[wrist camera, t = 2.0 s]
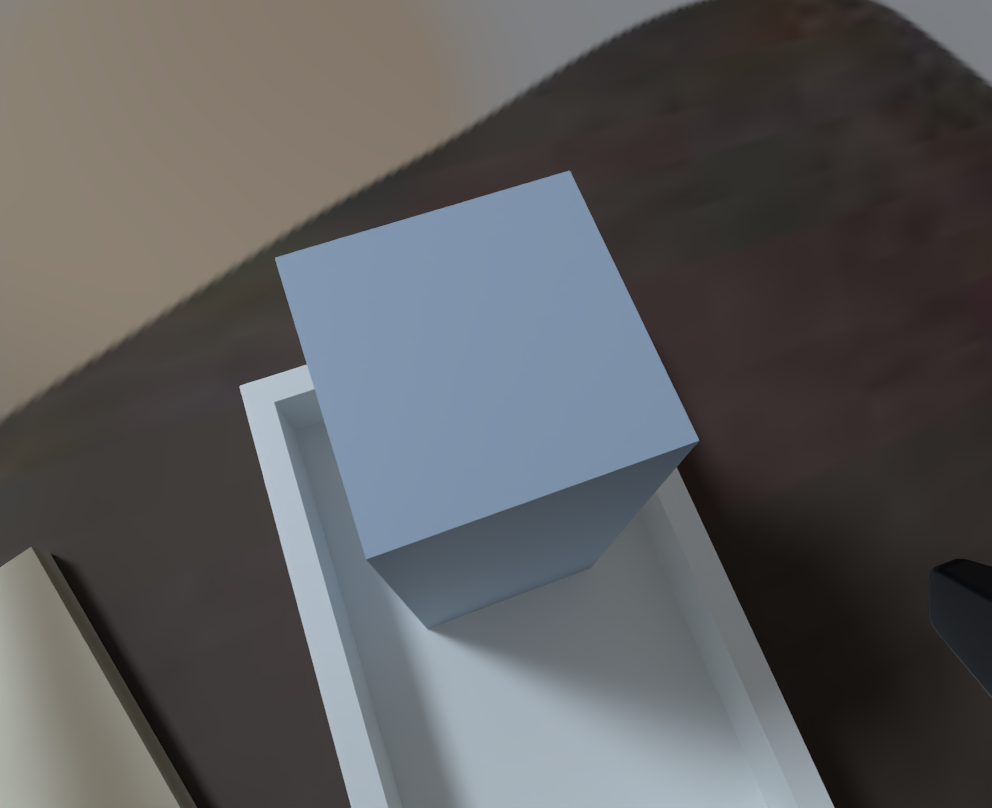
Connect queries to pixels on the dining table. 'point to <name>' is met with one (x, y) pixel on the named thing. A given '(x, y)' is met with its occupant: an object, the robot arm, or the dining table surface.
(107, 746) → the board
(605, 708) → the tray
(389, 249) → the carton
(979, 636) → the robot arm
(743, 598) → the dining table surface
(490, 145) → the dining table surface
